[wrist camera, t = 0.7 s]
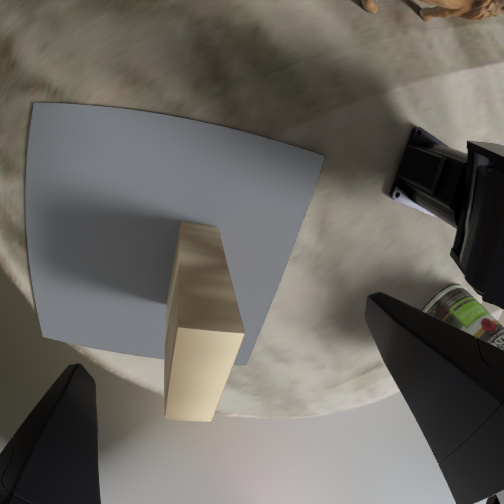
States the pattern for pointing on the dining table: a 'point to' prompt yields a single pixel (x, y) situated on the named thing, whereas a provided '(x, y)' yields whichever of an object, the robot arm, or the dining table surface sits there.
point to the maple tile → (199, 325)
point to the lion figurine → (453, 8)
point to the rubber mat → (152, 218)
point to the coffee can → (466, 315)
